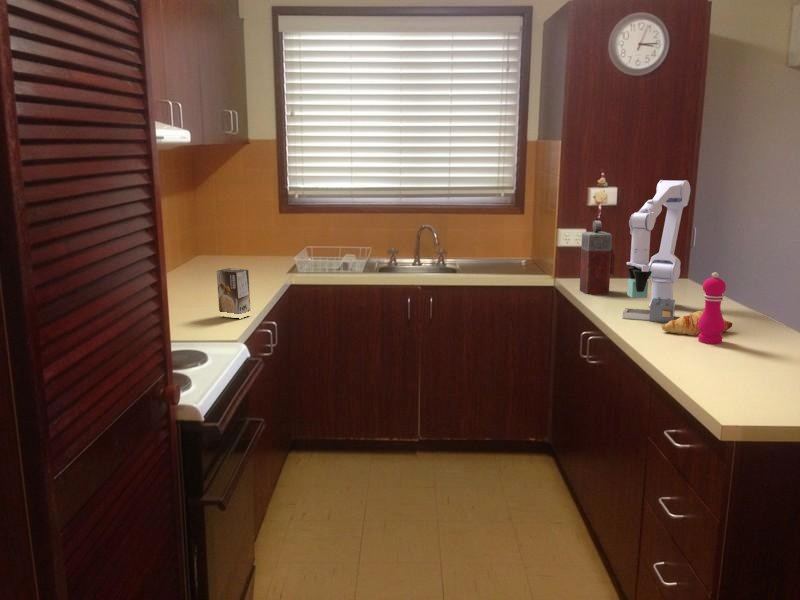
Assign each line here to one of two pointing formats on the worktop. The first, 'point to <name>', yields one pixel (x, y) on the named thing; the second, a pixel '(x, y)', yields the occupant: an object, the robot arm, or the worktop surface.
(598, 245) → the red canister
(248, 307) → the coffee box
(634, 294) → the teal block with knob
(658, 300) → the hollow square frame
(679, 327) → the croissant
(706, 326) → the pepper mill
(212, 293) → the worktop surface
